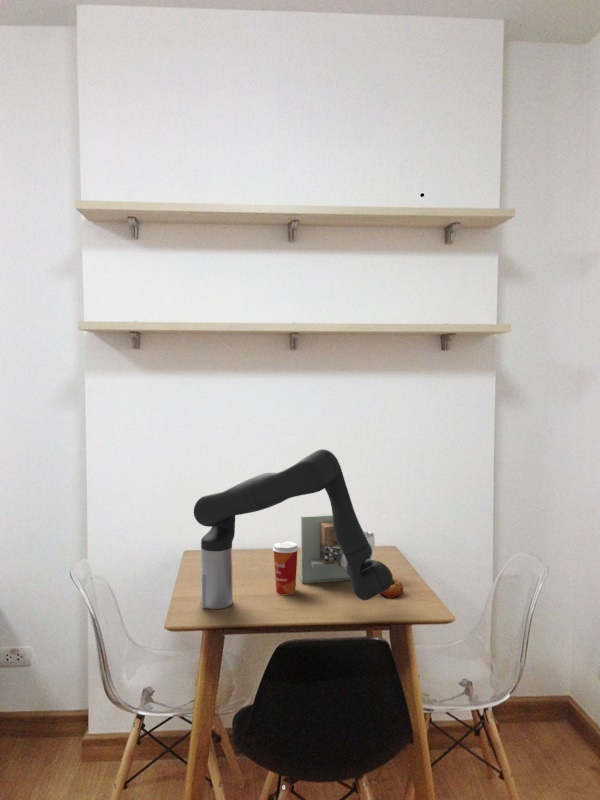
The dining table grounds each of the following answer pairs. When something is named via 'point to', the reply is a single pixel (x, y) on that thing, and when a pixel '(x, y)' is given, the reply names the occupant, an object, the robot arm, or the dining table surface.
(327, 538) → the cabinet
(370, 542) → the beer glass
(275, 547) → the coffee cup
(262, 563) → the dining table surface
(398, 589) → the tomato
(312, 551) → the wall board
